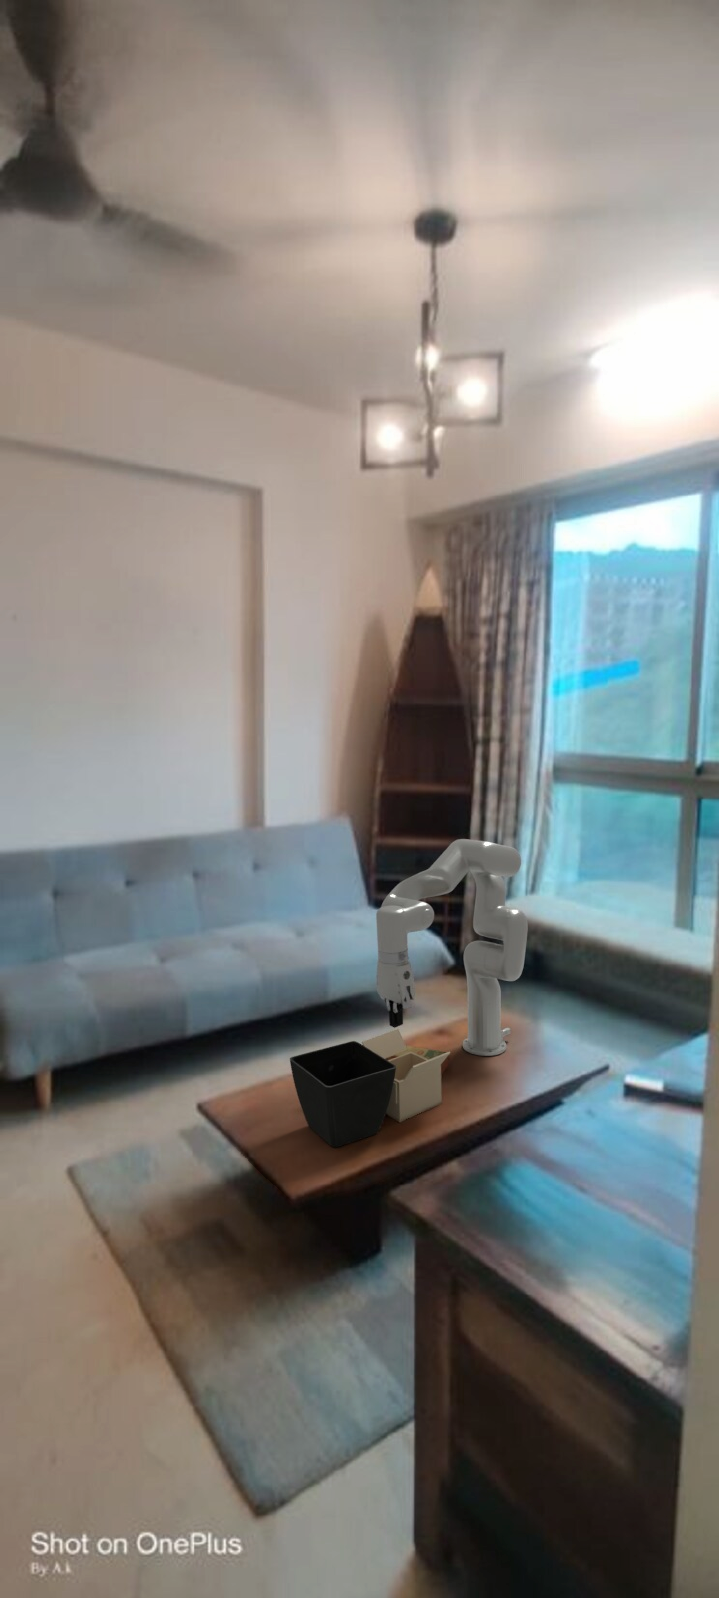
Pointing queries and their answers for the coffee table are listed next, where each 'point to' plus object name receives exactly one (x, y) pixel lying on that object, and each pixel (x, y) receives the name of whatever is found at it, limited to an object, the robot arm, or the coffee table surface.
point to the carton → (425, 1055)
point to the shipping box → (413, 1088)
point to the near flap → (426, 1066)
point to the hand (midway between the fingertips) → (396, 1025)
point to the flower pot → (343, 1091)
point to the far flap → (386, 1044)
